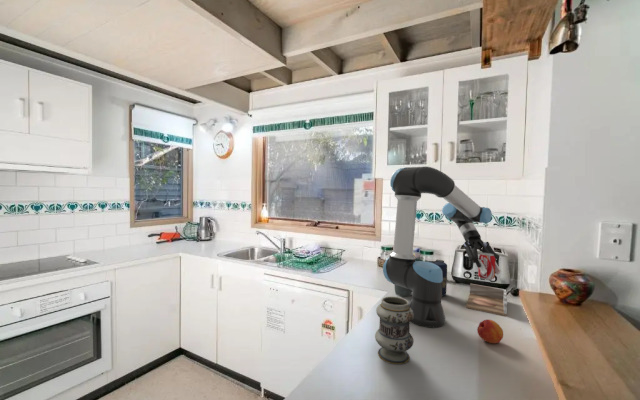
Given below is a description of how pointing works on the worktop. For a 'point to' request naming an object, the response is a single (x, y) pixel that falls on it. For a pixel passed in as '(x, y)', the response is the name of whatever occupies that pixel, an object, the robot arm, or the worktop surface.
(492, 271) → the soda can
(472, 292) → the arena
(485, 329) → the fruit
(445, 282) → the canister
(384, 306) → the apothecary jar
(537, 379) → the worktop surface
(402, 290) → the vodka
